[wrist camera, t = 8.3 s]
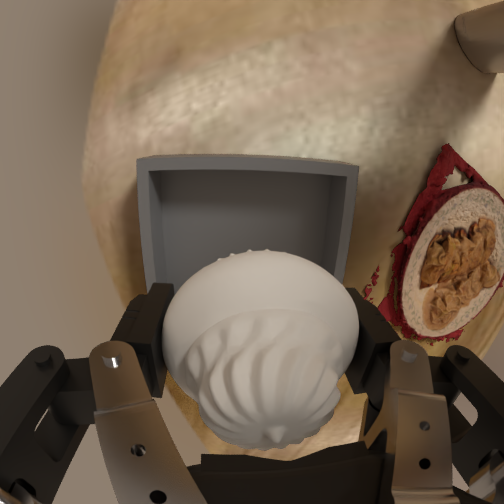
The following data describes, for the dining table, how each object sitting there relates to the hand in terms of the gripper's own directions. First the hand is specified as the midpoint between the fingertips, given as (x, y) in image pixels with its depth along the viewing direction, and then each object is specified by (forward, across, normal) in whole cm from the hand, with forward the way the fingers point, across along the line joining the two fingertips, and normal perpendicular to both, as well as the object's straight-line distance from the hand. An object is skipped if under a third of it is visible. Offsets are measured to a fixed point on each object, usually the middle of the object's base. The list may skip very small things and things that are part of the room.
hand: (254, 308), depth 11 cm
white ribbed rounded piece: (+1, 0, 0) cm, 1 cm away
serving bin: (+18, -1, +4) cm, 19 cm away
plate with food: (+19, -31, +6) cm, 36 cm away
